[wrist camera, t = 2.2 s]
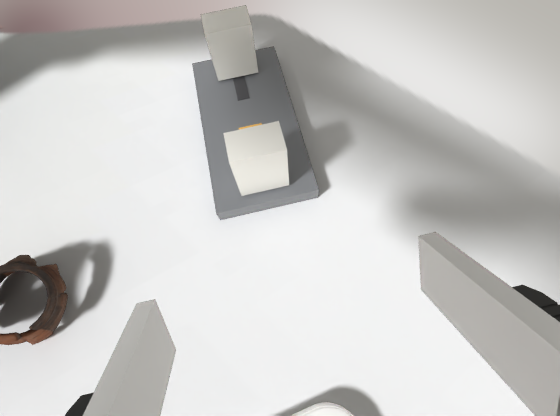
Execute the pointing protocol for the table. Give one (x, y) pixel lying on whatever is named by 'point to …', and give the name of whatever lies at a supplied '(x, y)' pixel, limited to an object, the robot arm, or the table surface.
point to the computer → (324, 410)
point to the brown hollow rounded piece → (54, 300)
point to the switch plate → (243, 114)
